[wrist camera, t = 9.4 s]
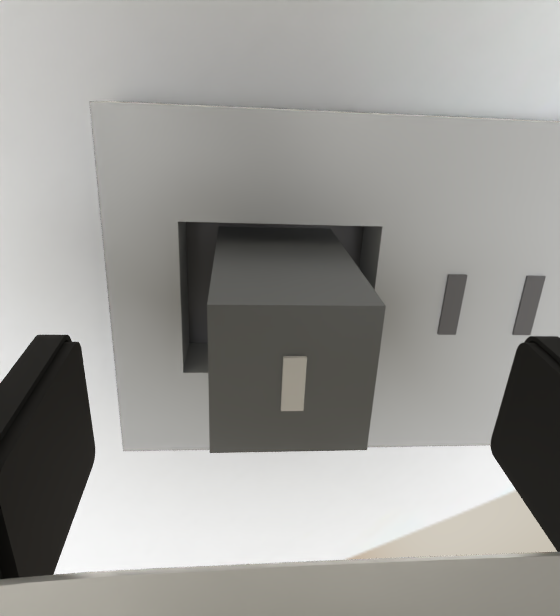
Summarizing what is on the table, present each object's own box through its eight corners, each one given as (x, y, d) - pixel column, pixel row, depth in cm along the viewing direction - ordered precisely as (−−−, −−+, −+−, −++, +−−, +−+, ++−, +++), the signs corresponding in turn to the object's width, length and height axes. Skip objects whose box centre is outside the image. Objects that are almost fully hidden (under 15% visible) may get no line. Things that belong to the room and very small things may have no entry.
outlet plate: (112, 101, 18) (88, 101, 15) (586, 122, 19) (646, 126, 17) (136, 408, 23) (122, 452, 20) (512, 405, 24) (548, 446, 22)
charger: (218, 226, 19) (206, 306, 12) (330, 228, 20) (387, 307, 12) (219, 328, 21) (209, 455, 14) (322, 329, 21) (367, 451, 14)
